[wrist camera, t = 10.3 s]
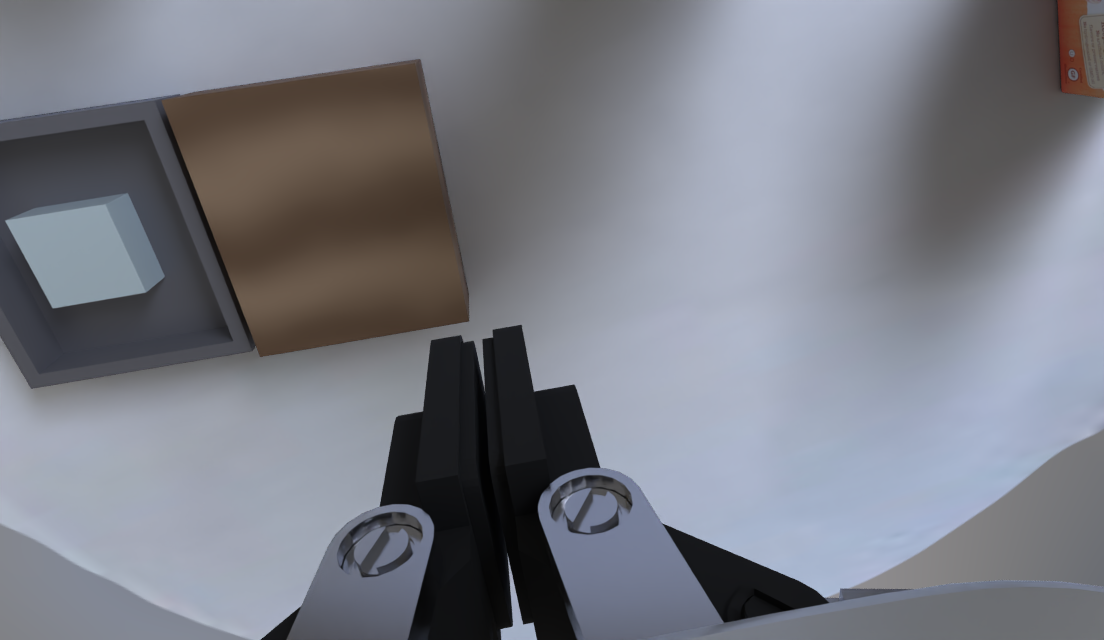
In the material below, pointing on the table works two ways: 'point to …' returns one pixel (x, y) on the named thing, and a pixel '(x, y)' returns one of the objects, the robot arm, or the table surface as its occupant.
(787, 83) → the table surface
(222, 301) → the tray
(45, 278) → the tile
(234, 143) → the board
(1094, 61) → the cracker box
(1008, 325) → the table surface
